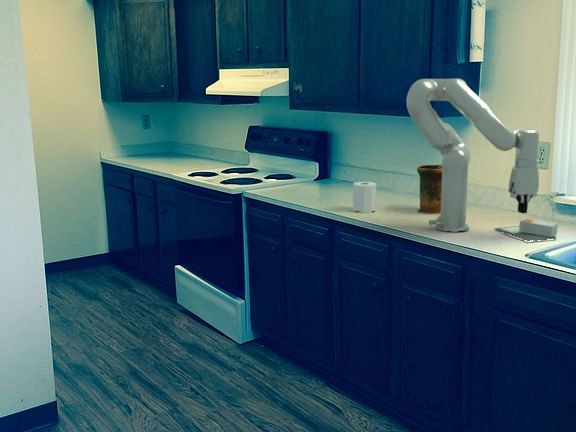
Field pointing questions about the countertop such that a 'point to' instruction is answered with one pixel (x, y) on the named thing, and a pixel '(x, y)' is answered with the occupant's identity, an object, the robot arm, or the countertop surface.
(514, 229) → the mat
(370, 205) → the toilet paper
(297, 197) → the countertop surface
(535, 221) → the skincare box
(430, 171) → the vessel
